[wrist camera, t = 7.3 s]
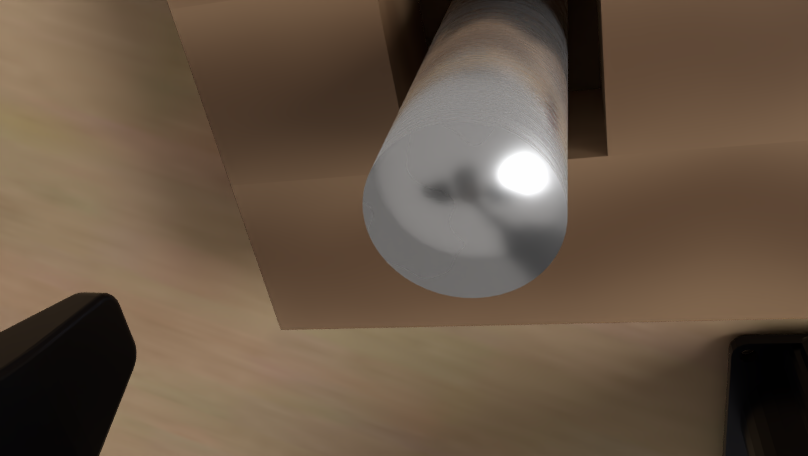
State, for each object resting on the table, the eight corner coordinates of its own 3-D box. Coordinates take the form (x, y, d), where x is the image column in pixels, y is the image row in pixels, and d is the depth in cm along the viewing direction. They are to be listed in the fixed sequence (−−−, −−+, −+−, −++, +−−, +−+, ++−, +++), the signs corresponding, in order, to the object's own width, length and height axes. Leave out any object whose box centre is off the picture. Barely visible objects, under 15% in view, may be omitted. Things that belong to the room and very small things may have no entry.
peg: (571, 64, 19) (574, 295, 11) (460, 76, 20) (384, 300, 12) (563, -54, 18) (559, 112, 9) (443, -36, 18) (342, 132, 10)
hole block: (782, 228, 21) (822, 318, 17) (320, 251, 24) (280, 329, 21) (842, -406, 14) (930, -459, 10) (177, -240, 17) (83, -240, 14)
